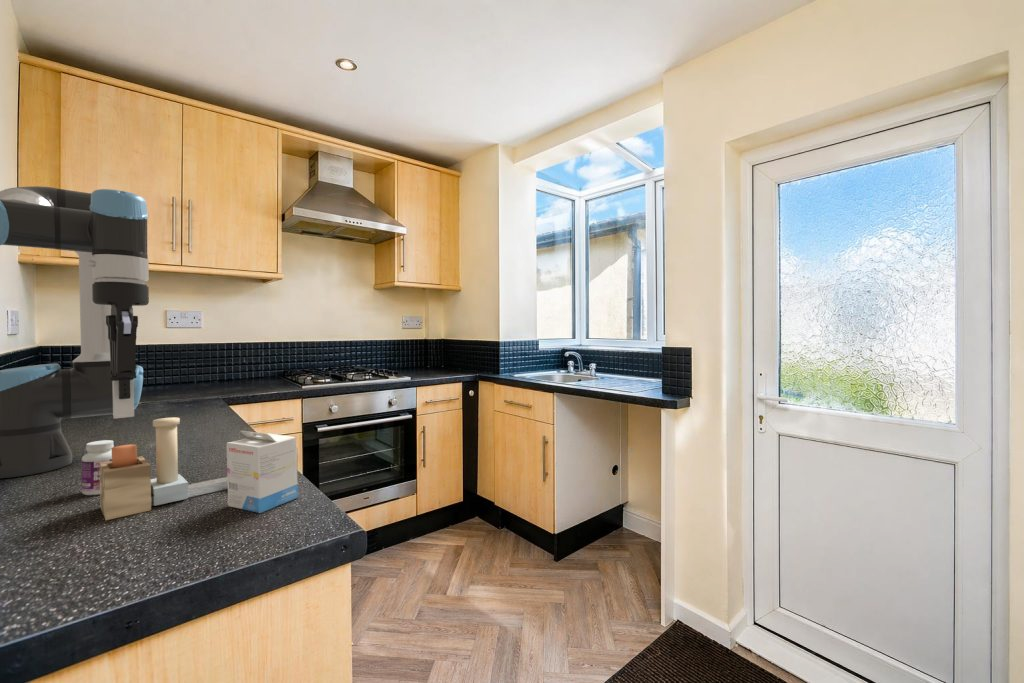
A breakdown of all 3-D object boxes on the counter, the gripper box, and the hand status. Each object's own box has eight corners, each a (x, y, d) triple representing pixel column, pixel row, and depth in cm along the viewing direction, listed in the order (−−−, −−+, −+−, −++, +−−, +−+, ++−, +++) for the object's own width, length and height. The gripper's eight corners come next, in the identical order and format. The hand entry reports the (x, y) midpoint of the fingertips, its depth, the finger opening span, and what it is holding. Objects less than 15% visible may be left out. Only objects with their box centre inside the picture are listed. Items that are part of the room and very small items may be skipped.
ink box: (299, 498, 87) (298, 427, 87) (258, 514, 80) (257, 437, 79) (268, 491, 91) (267, 423, 90) (226, 506, 83) (225, 432, 83)
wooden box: (100, 507, 82) (99, 462, 82) (143, 498, 87) (142, 456, 86) (105, 520, 77) (104, 472, 77) (151, 510, 81) (150, 464, 81)
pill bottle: (96, 497, 87) (95, 446, 87) (74, 495, 88) (73, 444, 88) (125, 487, 93) (124, 439, 92) (104, 485, 94) (103, 438, 93)
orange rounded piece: (110, 466, 81) (110, 447, 81) (135, 462, 84) (135, 443, 84) (113, 470, 79) (112, 450, 79) (138, 466, 82) (138, 446, 81)
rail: (144, 499, 86) (143, 483, 86) (235, 480, 97) (235, 466, 97) (150, 508, 82) (149, 491, 82) (245, 487, 93) (244, 472, 93)
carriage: (147, 496, 87) (145, 418, 86) (179, 490, 90) (178, 415, 90) (154, 506, 82) (153, 424, 81) (188, 499, 86) (187, 420, 85)
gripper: (88, 283, 82) (91, 415, 83) (96, 277, 73) (99, 425, 74) (141, 286, 88) (144, 409, 88) (155, 281, 79) (157, 419, 79)
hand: (123, 416), depth 81 cm, fingers closed
